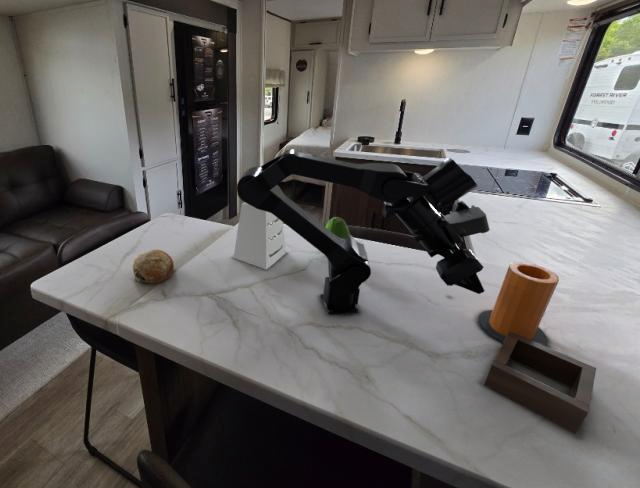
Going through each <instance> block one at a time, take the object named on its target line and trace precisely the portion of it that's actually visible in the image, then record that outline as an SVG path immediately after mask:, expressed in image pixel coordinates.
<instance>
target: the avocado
mask: <svg viewBox="0 0 640 488" xmlns="http://www.w3.org/2000/svg"><path fill="white" fill-rule="evenodd" d="M325 227H326V228H327V229H328V230H329V231H331V232H332V233H333V234H334V235H336V236H337V237H340V238H344V239H346V238H347V237H348V236H349V235H351V233H350V229H349V227H348V225H347V223H346V221H345V220H344V219H343V218H342V217H339V216H333V217H331V218H330V219H329V220H327V223H326V225H325Z"/></svg>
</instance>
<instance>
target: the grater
mask: <svg viewBox="0 0 640 488" xmlns="http://www.w3.org/2000/svg"><path fill="white" fill-rule="evenodd" d="M276 220H277V221H276ZM276 235H277V236H276ZM275 252H276V253H275ZM286 253H287V251H286V240H285V231H284V223H283V222H282V221H281V220H280V219H278V218H277V217H276V216H274V215H273V214H272V213H270V212H266V211H263V210H259V209H256V208H254V207H253V206H251V205H249V204H247V203H245V202H244V201H243V202H241V204H240V211H239V217H238V224H237V231H236V239H235V244H234V253H233V259H235V260H238V261H241V262H244V263H246V264H250V265H252V266H256V267H258V268H261V269H262V270H267V269H269V268H270V267H271V266H273V265H274V264H275V263H276V262H277V261H279V260H280V259H281V258H282V257H284V256H285V255H286ZM271 255H272V256H271Z"/></svg>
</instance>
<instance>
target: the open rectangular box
mask: <svg viewBox="0 0 640 488" xmlns="http://www.w3.org/2000/svg"><path fill="white" fill-rule="evenodd" d="M510 360H511V361H514V362H516V363H517V364H520V365H521V366H524V367H526V368H528V369H530V370H531V371H534V372H536V373H538V374H540V375H542V376H545V377H548V378H549V379H552V380H553V381H555V382H558V383H560V384H561V385H564V386H566V387H568V388H570V391H569V395H568V394H565V393H563V392H562V391H559V390H557V389H555V388H553V387H551V386H549V385H547V384H545V383H543V382H541V381H539V380H538V379H537V380H536V379H534V378H533V377H531V376H529V375H526V374H525V373H523V372H521V371H518V370H516V369H514V368H513V367H510V366H508V364H509V361H510ZM488 370H489V371H488V373H487V376H486V378H485V380H484V383H483V385H484V386H485V387H487V388H489V389H491V390H493V391H494V392H496V393H498V394H500V395H502V396H504V397H506V398H508V399H509V400H511V401H513V402H515V403H517V404H518V405H520V406H522V407H524V408H526V409H528V410H530V411H532V412H534V413H535V414H537V415H539V416H540V417H543V418H544V419H546V420H548V421H550V422H552V423H554V424H555V425H558V427H561V428H563V429H564V430H566V431H568V432H571V433H572V434H574V435H576V434H577V433H578V432H579V430H580V428H581V426H582V425H583V424H584V421H585V420H586V418H587V416H588V415H589V413H590V407H591V402H592V396H593V391H594V385H595V378H596V373H597V367H594V366H593V365H591V364H588V363H586V362H584V361H581V360H578V359H577V358H574V357H572V356H569V355H567V354H565V353H563V352H560V351H557V350H556V349H553V348H551V347H549V346H547V345H546V346H544V345H541V344H539V343H537V342H534V341H532V340H530V339H527V338H525V337H523V336H520V335H518V334H516V333H513V332H511V331H509V333H508V335H507V337H506V338H505V340H504V342H503V343H501V346H500V348H499V350H498V351H497V353H496V355H495V357H494V359H493V361H492V363H491V365H490V368H489V369H488Z"/></svg>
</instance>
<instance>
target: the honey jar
mask: <svg viewBox="0 0 640 488" xmlns="http://www.w3.org/2000/svg"><path fill="white" fill-rule="evenodd" d="M559 281H560V279H559V276H558V275H557V274H556V273H555V272H553V271H552V270H550V269H548V268H546V267H543V266H541V265H538V264H534V263H532V262H531V263H530V262H525V261H515V262H511V263H510V264H509V265H508V267H507V270H506V272H505V275H504V278H503V281H502V284H501V287H500V290H499V292H498V295H497V298H496V300H495V303H494V306H493V309H492V310H493V311H492V314H491V317H490V320H489V323H490V325H491V327H492V328H493V329H494V330H495V331H497V332H498V333H500V334H501V335H503V336H505V337H507V335H508V333H509V331H511V332H513V333H516V334H518V335H520V336H523V337H525V338H527V339H530V340H531V339H532V338H533V336H534V335H535V333H536V331H537V328H538V327H540V324H541V322H542V320H543V317H544V315H545V313H546V310H547V309H548V306H549V304H550V302H551V299H552V297H553V295H554V292H555V290H556V289H557V286H558V284H559Z"/></svg>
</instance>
